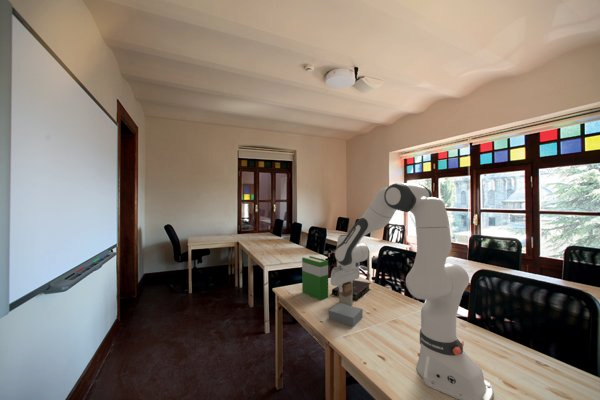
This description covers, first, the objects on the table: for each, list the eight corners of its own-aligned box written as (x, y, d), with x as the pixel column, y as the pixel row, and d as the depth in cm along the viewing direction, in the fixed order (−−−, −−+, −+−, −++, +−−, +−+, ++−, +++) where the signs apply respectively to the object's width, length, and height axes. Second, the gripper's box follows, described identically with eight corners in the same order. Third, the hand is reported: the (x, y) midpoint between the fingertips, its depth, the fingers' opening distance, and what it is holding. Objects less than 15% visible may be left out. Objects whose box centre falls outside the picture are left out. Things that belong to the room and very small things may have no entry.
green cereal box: (302, 292, 165) (302, 257, 165) (310, 289, 169) (310, 256, 169) (320, 300, 151) (319, 262, 151) (328, 297, 155) (328, 260, 156)
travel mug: (354, 305, 143) (353, 275, 143) (340, 306, 142) (340, 276, 142) (350, 300, 151) (350, 271, 151) (337, 300, 150) (337, 272, 150)
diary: (331, 295, 160) (331, 288, 160) (347, 285, 180) (347, 278, 180) (357, 302, 149) (357, 294, 149) (372, 290, 169) (371, 283, 169)
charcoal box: (362, 318, 128) (362, 309, 128) (353, 327, 119) (353, 317, 119) (339, 311, 137) (339, 302, 137) (328, 319, 127) (328, 310, 127)
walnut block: (352, 294, 128) (351, 283, 128) (346, 297, 124) (346, 285, 124) (344, 291, 131) (344, 281, 131) (338, 294, 128) (338, 283, 128)
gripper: (337, 269, 119) (337, 297, 119) (361, 262, 132) (361, 287, 132) (327, 266, 124) (327, 293, 123) (352, 260, 137) (352, 284, 137)
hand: (345, 290), depth 128 cm, fingers closed on walnut block, 5 cm apart
